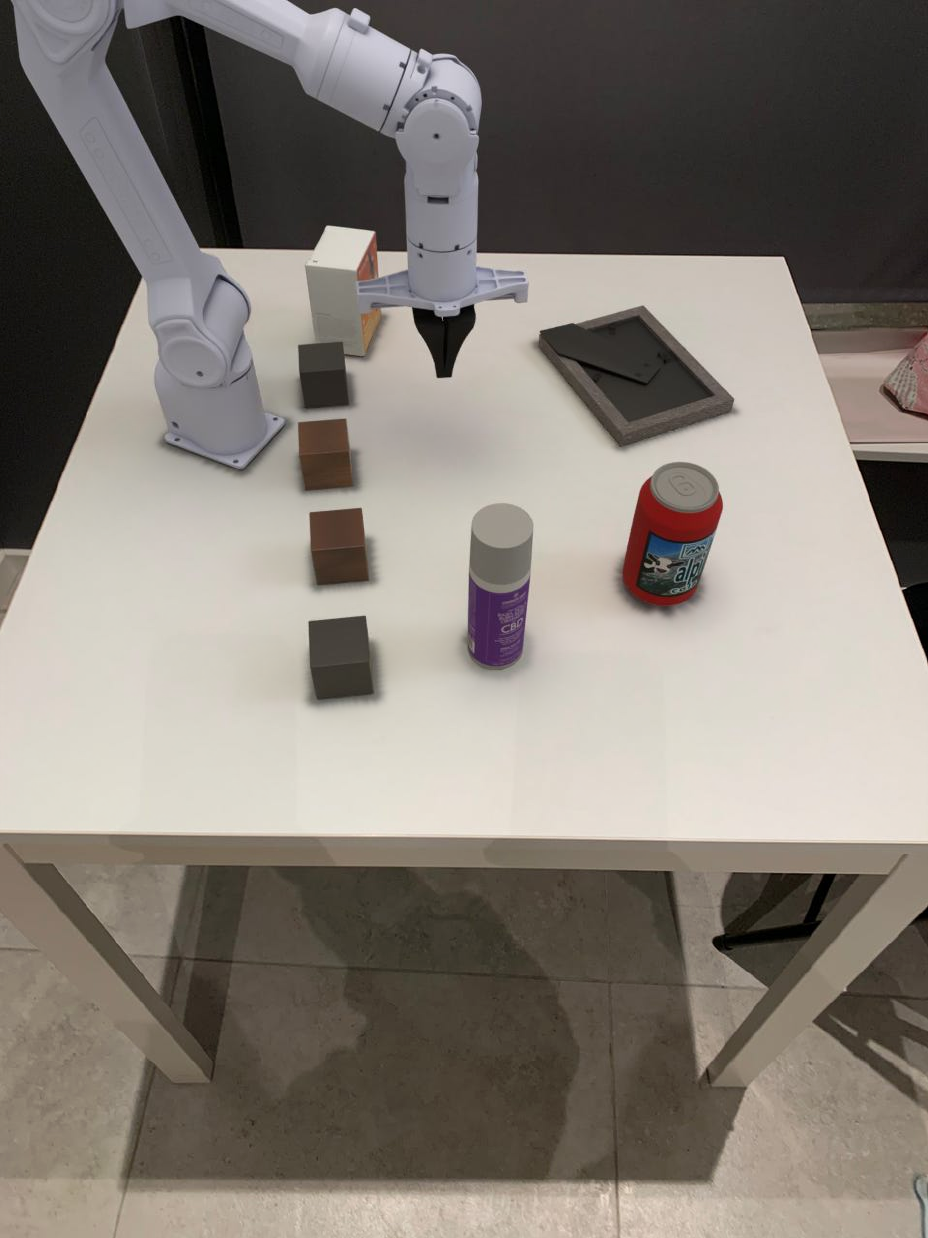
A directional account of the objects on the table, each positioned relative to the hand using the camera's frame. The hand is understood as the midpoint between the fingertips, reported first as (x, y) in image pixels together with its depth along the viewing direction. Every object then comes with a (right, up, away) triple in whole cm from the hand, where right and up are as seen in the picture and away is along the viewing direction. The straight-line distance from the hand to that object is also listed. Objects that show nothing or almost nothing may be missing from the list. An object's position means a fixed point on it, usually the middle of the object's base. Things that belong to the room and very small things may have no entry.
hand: (443, 371), depth 86 cm
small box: (-11, +9, +19) cm, 24 cm away
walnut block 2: (-9, -18, -2) cm, 20 cm away
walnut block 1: (-11, -9, +5) cm, 15 cm away
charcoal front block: (-8, -27, -9) cm, 30 cm away
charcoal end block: (-13, +1, +13) cm, 18 cm away
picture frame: (+20, +3, +15) cm, 25 cm away
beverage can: (+19, -20, -3) cm, 28 cm away
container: (+5, -25, -7) cm, 27 cm away
